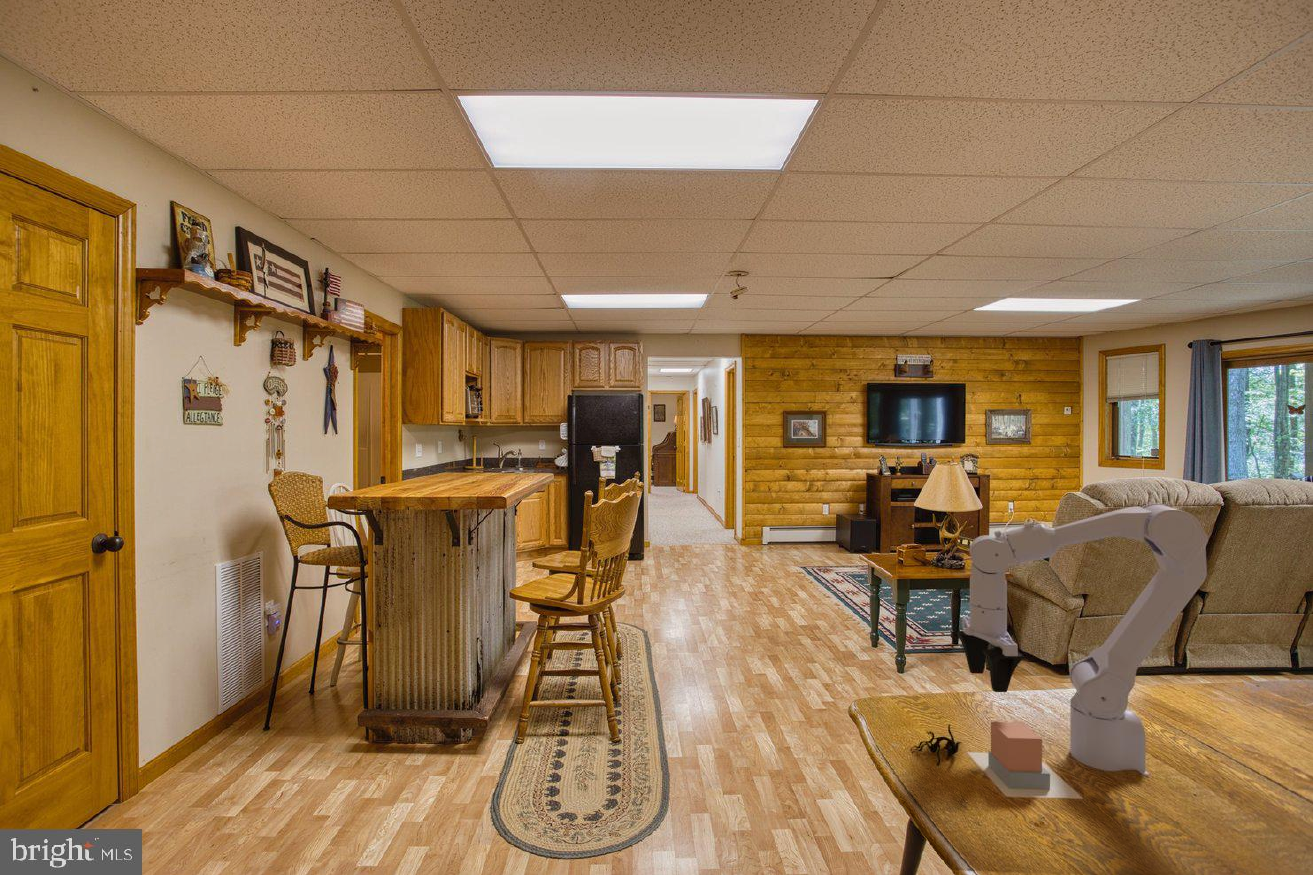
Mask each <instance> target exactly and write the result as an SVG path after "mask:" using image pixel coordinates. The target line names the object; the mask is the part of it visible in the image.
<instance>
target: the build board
mask: <svg viewBox="0 0 1313 875" xmlns="http://www.w3.org/2000/svg"><path fill="white" fill-rule="evenodd" d="M966 754H967V755H968V756H969V757H970V758H971V759H972V760H973V761H974V763H976V765H977V767H979V768H980V769H981V770H982V771H983V773H984V774H985V775H986V776H987V777H988V778H989V779H990V781H991V782H992V783H993V784H994V785H995V786H996V787H997V788H998V789H999V790H1000V792H1001V793H1002V795H1004V796H1005V797H1006V798H1034V799H1035V798H1036V799H1040V798H1041V799H1073V800H1074V799H1075V800H1077V799H1078V800H1083V799H1084V798H1083V796H1081V795H1080V794H1079V792H1077V791H1076V790H1075V789H1074V788H1073V787H1071V786H1070V784H1068V783H1067V782H1066V781H1065V780H1064V779H1062V778H1061V777H1060V776H1059V775H1058V773H1056V772H1055V771H1054V770H1053V769H1052V768H1051V767H1050V766H1048V765H1047V764H1046V763H1045V762H1044V761H1043V760H1042V767H1043V768H1045V769H1046V770H1047V771H1048V772H1049V773H1050V790H1047V789H1009V788H1008V787H1007V786H1006V785H1005V784H1004V782H1003V781H1002V780H1001V779H1000V778H999V777H998V776H997V775H996V774H995V773H994V772H993V770H992V769H991V768H990V767H989V766H988V752H971V751H969V752H966Z"/></svg>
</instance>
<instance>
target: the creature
mask: <svg viewBox="0 0 1313 875" xmlns="http://www.w3.org/2000/svg"><path fill="white" fill-rule="evenodd" d="M947 726H948V727H947V730H948V734H949V735H950V738H948V737H947V736H938V737H935V733H934V732H932V731H926V733H927V735H928V737H929V740H928V741H927V740H926V741H925V740H922V741H920V743H919V744H918V746H917V745H915V746H912V747H911V749H910V752H911V754H913V753H914V751H917V752H921V753H922V751H923V747H924V746H928V749H929V751H930V752H931V753H932V754H934V753H935V754H937V755H936V756H937V760H938V762H937V763H936V767H939V765H940V763H941V757H940V751H941V752H942V751H944V750H945V751H947V756H946V758H945V760H947V761H948V760H949V757H951V756H952V757H953V756H954V755H956V754H957V753H958V752H959V747H960V746H959V745H960V744H962V742H961V741H957V742H955V739H954V736H953V733H952V731H951V724H950V723H949V724H948V725H947ZM930 736H931V738H930ZM933 741H935V742H934V743H933ZM942 741H946V744H945V745H944V747H943V748H942V749H941V742H942Z"/></svg>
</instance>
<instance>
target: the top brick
mask: <svg viewBox="0 0 1313 875" xmlns="http://www.w3.org/2000/svg"><path fill="white" fill-rule="evenodd" d="M990 751H991V754H992V755H993V756H994V757H995V758H996V759H997V760H998V761H999V762H1000V763H1001V764H1002V765H1003V766H1004V767H1005V768H1006V769H1007V770H1008V771H1032V772H1042V761H1043V738H1042V737H1041V736H1040V735H1038V734H1037V733H1036V732H1035V731H1034V730H1033V729H1031V727H1029V726H1028V725H1027V724H1025V723H1024V722H1017V721H1015V722H1014V721H1013V722H1012V721H990Z"/></svg>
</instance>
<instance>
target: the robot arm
mask: <svg viewBox="0 0 1313 875" xmlns="http://www.w3.org/2000/svg"><path fill="white" fill-rule="evenodd" d="M993 533H994V535H995V536H992V535H989V534H987V535H985V534H983V535H980V536H978V537H976V538H974V540H972V542H971V543H970V545H969V548H968V553H969V556H970V560H971V566H970V574H971V575H970V577H969V616H962V617H961V627H962V630H959V631H957V633H956V635H957V637H958V639H959V641H960V643H961V645H962V647H963V651H964V654H965V658H966V661H967V665H968V669H969V672H970V673H971V674H974V675H975V674H982V675H983V674H984V671H985V667H986V662H987V666H988V669H989V670H988V671H989V677H990V685H991V689H992V691H993V692H995V693H1008V689H1009V686H1010V683H1011V679H1012V677H1013V674H1014V672H1015V670H1016V669H1017V667H1018V665H1019V664H1020V662H1022V661H1023V655H1022V654H1021V653H1020V652H1018V651H1019V650H1018V648H1019V646H1018V644H1017V643H1016V642H1015V641H1013V638H1012V637H1011V635H1010V634H1009V632H1008V631H1007V630H1008V583H1007V582H1008V581H1007V579H1006V569H1007V567H1009V565H1013V566H1017V565H1021V564H1025V563H1026V564H1027V563H1030V562H1035V561H1039V560H1043V559H1048V558H1052V557H1055V556H1056V555H1057V553H1058V552H1059V550H1060V548H1062V547H1065V546H1071V545H1076V544H1081V543H1086V542H1091V541H1096V540H1097V541H1098V540H1101V539H1102V540H1103V539H1106V538H1107V539H1109V538H1113V537H1120V538H1126V539H1129V540H1135V541H1139V542H1145V543H1147V545H1148V546H1149V547H1150V549H1151V551H1152V554H1153V556H1154V558H1155V560H1156V562H1157V564H1158V567H1159V568H1158V570H1157V572H1156V573H1155V574H1154V576H1153V577H1152V578H1151V580H1150V581H1149V582H1148V584H1147V585H1146V586H1145V587H1144V589H1143V590H1142V591H1141V593H1140V594H1139V596H1138V597H1137V598H1136V600H1134V603H1133V604H1132V605H1131V606H1130V608H1129V609H1128V610H1127V612H1125V614H1124V616H1123V617H1122V618H1121V620H1120V621H1119V623H1117V625H1116V626H1115V628H1114V629H1113V630H1112V632H1111V634H1110V635H1109V636H1108V637H1107V638H1106V640H1105V642H1104V643H1103V644H1102V645H1101V646H1098V647H1097V648H1095V649H1093V650H1091V652H1090V653H1089V654H1088V655H1087V656H1086V657H1085V658H1083V659H1080V660H1078V661H1076V662H1075V663H1073V664H1072V665H1071V668H1070V669H1069V679H1070V683H1071V684H1072V685H1073V687H1074V688H1075V690H1076V692H1075V693H1074V694H1073V696H1072V697H1071V698H1070V702H1069V703H1070V706H1069V708H1070V709H1069V710H1070V714H1069V715H1070V717H1069V718H1070V719H1069V721H1070V725H1069V726H1070V727H1069V728H1070V730H1069V731H1070V733H1069V734H1070V735H1069V736H1070V737H1069V740H1070V742H1069V744H1070V746H1069V747H1070V748H1069V749H1070V750H1069V751H1070V755H1071V757H1073V758H1074V759H1075V761H1078V762H1080V763H1081V764H1083V765H1086V766H1088V767H1091V768H1093V769H1098V770H1101V771H1106V772H1107V771H1108V772H1118V771H1125V770H1126V771H1127V770H1131V771H1133V770H1136V771H1138V772H1139V773H1140V774H1142V775H1143V776H1145V777H1146V778H1148V777H1150V773H1149V772H1148V771H1146V750H1147V749H1146V746H1147V745H1146V738H1147V737H1146V731H1145V728H1144V725H1143V723H1142V721H1141V718H1139V716H1138V715H1137V714H1136V713H1135V712H1134V711H1132V710H1130V709H1128V704H1129V696H1130V693H1131V691H1132V689H1134V687H1135V683H1136V677H1137V676H1136V675H1137V670H1138V668H1139V667H1140V666H1141V664H1142V663H1144V660H1145V659H1146V658H1147V657H1148V655H1150V653H1151V652H1152V650H1153V649H1154V648H1155V646H1156V645H1157V644H1158V643H1159V641H1160V639H1162V637H1163V636H1164V634H1165V633H1166V632H1167V631H1168V629H1169V628H1170V626H1171V625H1172V624H1173V622H1175V620H1176V619H1177V618H1178V616H1179V614H1180V613H1181V612H1182V611H1183V610H1184V608H1186V606H1187V605H1188V603H1189V602H1190V601H1191V599H1192V598H1193V596H1194V595H1195V594H1196V592H1197V591H1198V590H1199V589H1200V587H1201V586H1202V585H1203V583H1205V580H1206V578H1207V576H1208V571H1207V570H1208V569H1207V568H1208V566H1207V551H1206V550H1207V549H1206V548H1207V547H1206V546H1207V544H1208V541H1209V537H1208V535H1207V534H1206V532H1205V530H1204V528H1203V527H1202V525H1201V523H1200V522H1199V520H1198V519H1197V518H1196V517H1195V516H1194V515H1193V514H1191V513H1189V512H1187V511H1185V510H1181V509H1176V508H1173V507H1172V506H1171V505H1167V504H1163V503H1157V502H1154V503H1147V504H1145V505H1143V506H1139V505H1138V506H1130V507H1129V506H1128V507H1124V508H1120V509H1115V510H1113V511H1109V512H1105V513H1101V514H1098V515H1094V516H1091V517H1088V518H1087V517H1086V518H1084V519H1081V520H1076V521H1073V522H1069V523H1067V524H1063V525H1059V526H1055V527H1050V526H1047V525H1046V524H1043V523H1035V524H1034V523H1033V522H1032V521H1028V522H1024V523H1023V527H1020V528H1016V529H1015V528H1014V529H1012V530H1007V531H1004V532H1002V531H1001V530H996V531H994V532H993ZM990 644H991V645H992V646H994V649H993V648H992V649H991V648H989V645H990Z"/></svg>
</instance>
